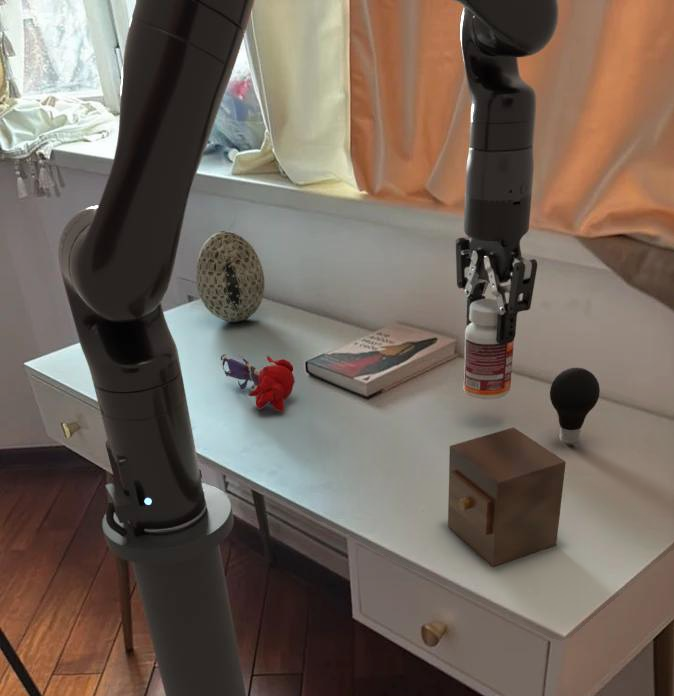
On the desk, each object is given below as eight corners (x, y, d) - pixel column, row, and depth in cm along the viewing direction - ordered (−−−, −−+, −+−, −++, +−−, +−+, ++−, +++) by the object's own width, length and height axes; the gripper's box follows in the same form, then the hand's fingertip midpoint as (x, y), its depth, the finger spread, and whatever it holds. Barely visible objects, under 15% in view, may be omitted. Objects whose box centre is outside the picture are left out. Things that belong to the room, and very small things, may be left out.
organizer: (483, 570, 88) (487, 486, 82) (438, 529, 94) (439, 448, 88) (556, 544, 90) (566, 461, 84) (507, 506, 97) (513, 427, 91)
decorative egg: (207, 335, 147) (192, 245, 138) (200, 314, 156) (186, 227, 147) (273, 326, 148) (263, 236, 139) (262, 305, 158) (252, 219, 148)
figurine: (245, 372, 131) (316, 396, 123) (207, 402, 127) (278, 428, 119) (233, 335, 126) (307, 357, 118) (194, 365, 123) (266, 390, 115)
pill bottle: (514, 399, 109) (521, 311, 102) (466, 402, 109) (470, 314, 102) (504, 380, 114) (511, 295, 107) (459, 383, 114) (462, 298, 107)
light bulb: (562, 429, 111) (570, 356, 105) (601, 443, 108) (612, 368, 102) (535, 446, 108) (542, 371, 102) (574, 460, 105) (584, 383, 99)
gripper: (437, 183, 101) (434, 323, 111) (507, 206, 90) (497, 358, 101) (490, 175, 103) (483, 312, 113) (564, 196, 93) (549, 346, 103)
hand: (489, 333), depth 107 cm, fingers closed on pill bottle, 6 cm apart
